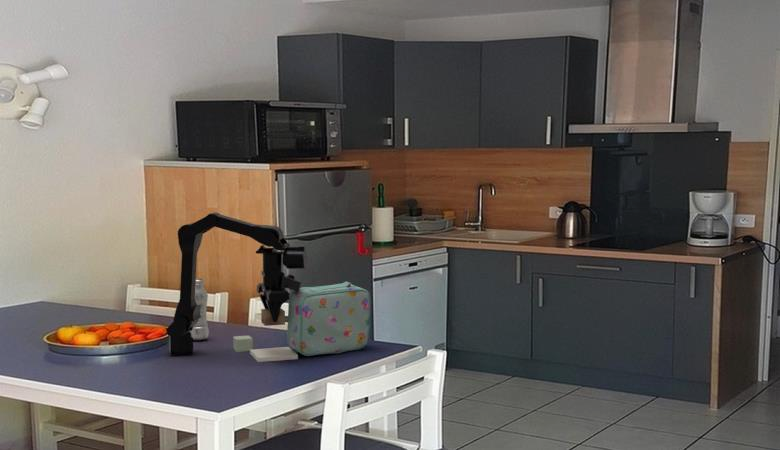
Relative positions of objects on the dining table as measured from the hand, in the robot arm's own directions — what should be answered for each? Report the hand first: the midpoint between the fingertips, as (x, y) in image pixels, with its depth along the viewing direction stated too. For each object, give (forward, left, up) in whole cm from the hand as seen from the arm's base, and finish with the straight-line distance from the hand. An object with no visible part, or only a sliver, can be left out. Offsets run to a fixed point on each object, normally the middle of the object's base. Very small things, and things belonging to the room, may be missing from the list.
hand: (273, 320), depth 277 cm
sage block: (-7, +12, -11) cm, 18 cm away
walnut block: (0, 0, -1) cm, 1 cm away
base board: (0, 0, -11) cm, 11 cm away
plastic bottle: (-18, +31, -11) cm, 38 cm away
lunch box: (+18, +1, -11) cm, 21 cm away
